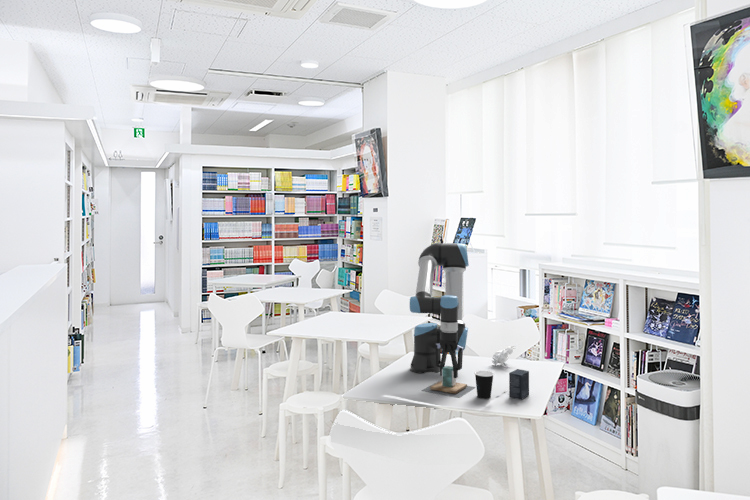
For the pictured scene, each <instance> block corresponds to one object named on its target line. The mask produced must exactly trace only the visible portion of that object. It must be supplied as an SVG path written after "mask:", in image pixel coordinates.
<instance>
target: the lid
mask: <svg viewBox="0 0 750 500" xmlns="http://www.w3.org/2000/svg"><path fill="white" fill-rule="evenodd" d="M452 370H453V366H450V365H445V367H443V384H442V380H439V381H440V382H438V381H437V382H438V383H436V382H435V383H436V384H434V383H433V384H434V385H433V384H432V385H433V386H431V385H430V386H431V387H430V389H433V390H438V391H444V392H449V393H454V394H456V393H458V392H459V391H461V390H462V389H464V388H466V387H467V386H468V384H467V383H461V382H457V381H456V385H454V386H452Z"/></svg>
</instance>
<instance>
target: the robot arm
mask: <svg viewBox="0 0 750 500" xmlns="http://www.w3.org/2000/svg"><path fill="white" fill-rule="evenodd" d="M468 258H469V257H468V250H467V245H466V244H464V243H457V242H454V243H449V242H448V243H446V242H445V243H444V242H442V243H440V242H438V243H433V244H430V245H428V246H427V247H425V248H424V250H423V251H422V252H421V253H420V255H419V257H418V261H417V264H418V265H417V266H418V267H419V268H418V275H417V282H416V290H415V296H410V297H409V311H410V312H411V313H413V314H415V313H416V314H439V315H440V326H439V325H438V323H436V322H426V323H421V324H417V325H415V327H414V331H413V346H414V347H413V356H412V358H411V359H412V360H411V362H410V371H412V372H414V373H417V374H425V373H439V375H440V376H441V381H442V384H443V367H445V366H446V360H447V356H448V355H447V354H448V353H449V355H450V357H451V363H452V367H453V370H452V386H454V385H456V382H457V378H458V376H459V375H458V373H459V372H458V371H460V370H462V369H463V357H464V356H463V355H464V354H463V352H464V350H465V349H466V345H467V340H468V333H469V328H468V327H467V326H466V323H465V322H464V321H463V287H464V286H463V285H464V284H463V277H464V276H463V274H464V272H465V271H466V269H467V267H469V266H470V265H469V259H468ZM437 267H442V270H443V271H444V273H445V291H444V293H445V294H444V295H441V296H440V297H439V296H433V287H434V277H435V270H436V269H437ZM441 351H442V352H441ZM456 354H457V355H456Z"/></svg>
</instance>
